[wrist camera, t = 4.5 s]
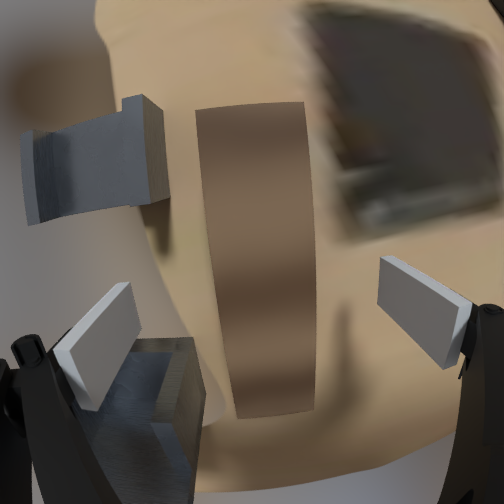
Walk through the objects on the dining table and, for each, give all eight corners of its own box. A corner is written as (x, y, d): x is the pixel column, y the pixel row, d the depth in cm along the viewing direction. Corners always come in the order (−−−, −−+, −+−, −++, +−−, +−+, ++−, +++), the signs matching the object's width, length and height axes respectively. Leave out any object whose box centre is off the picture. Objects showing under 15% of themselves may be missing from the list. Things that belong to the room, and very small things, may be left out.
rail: (208, 129, 18) (195, 110, 12) (284, 123, 18) (303, 102, 12) (237, 366, 22) (237, 419, 17) (298, 359, 22) (313, 410, 17)
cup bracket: (93, 338, 21) (9, 457, 8) (193, 337, 21) (154, 501, 8) (114, 391, 23) (61, 508, 9) (206, 393, 23) (189, 539, 9)
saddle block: (55, 138, 17) (20, 135, 13) (163, 110, 17) (142, 93, 13) (62, 215, 18) (28, 225, 14) (170, 197, 18) (150, 203, 14)
